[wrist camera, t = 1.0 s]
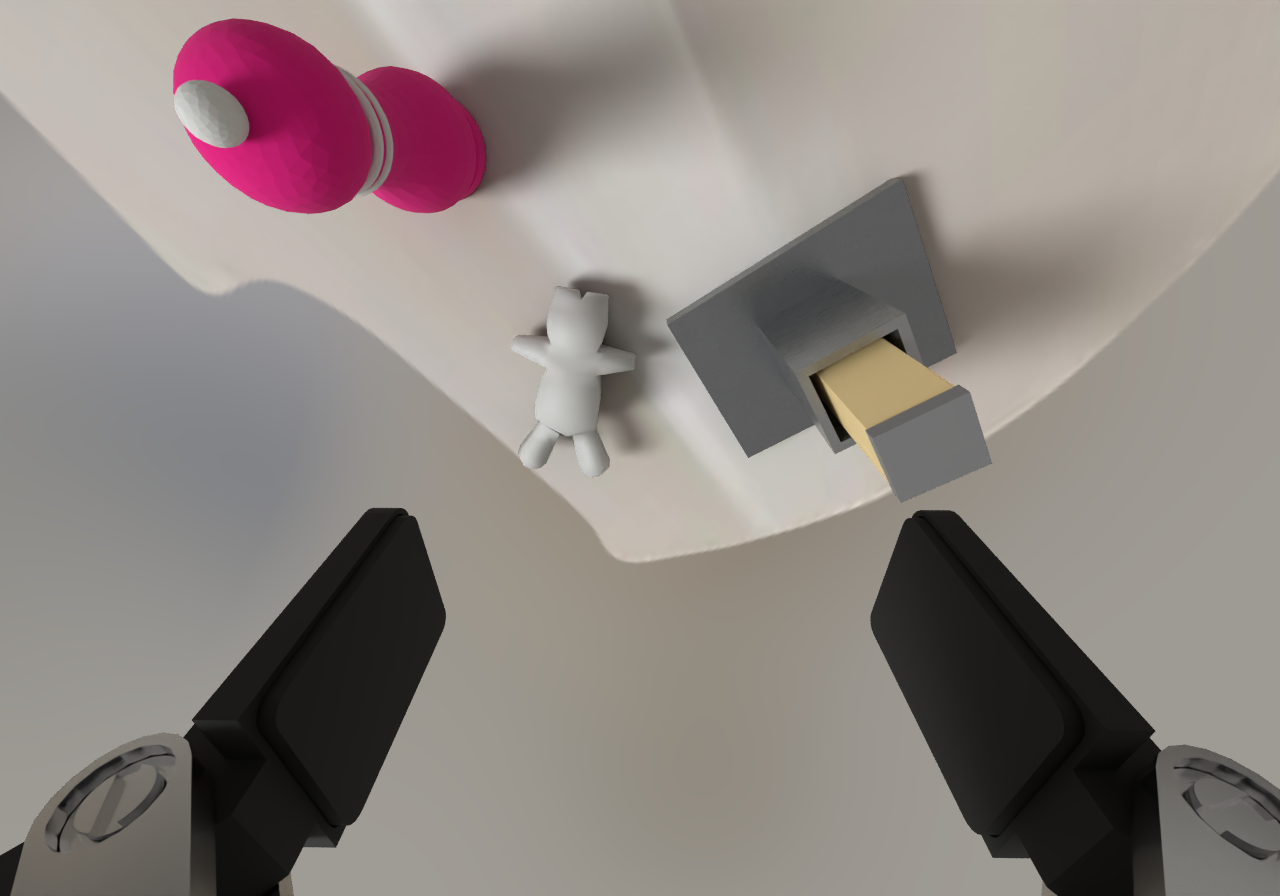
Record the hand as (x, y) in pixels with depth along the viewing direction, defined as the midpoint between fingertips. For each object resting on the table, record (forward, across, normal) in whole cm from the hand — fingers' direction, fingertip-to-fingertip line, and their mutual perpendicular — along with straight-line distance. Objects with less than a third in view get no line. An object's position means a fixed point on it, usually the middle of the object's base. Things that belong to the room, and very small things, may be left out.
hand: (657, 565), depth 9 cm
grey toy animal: (+31, +6, +8) cm, 32 cm away
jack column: (+28, -13, +4) cm, 31 cm away
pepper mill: (+31, +14, -8) cm, 35 cm away
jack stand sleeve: (+30, -13, +4) cm, 33 cm away
